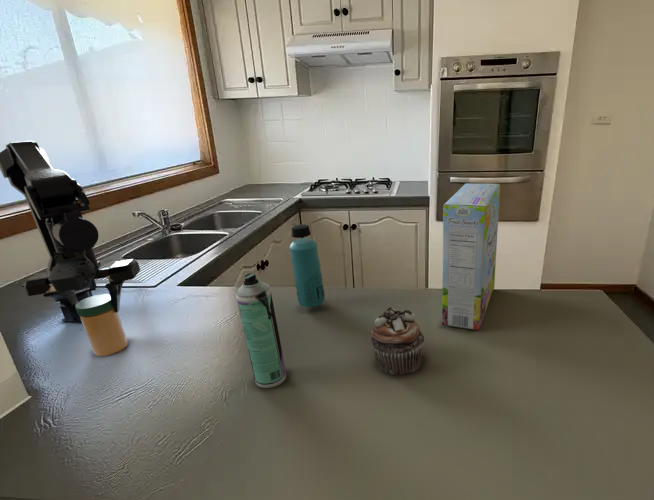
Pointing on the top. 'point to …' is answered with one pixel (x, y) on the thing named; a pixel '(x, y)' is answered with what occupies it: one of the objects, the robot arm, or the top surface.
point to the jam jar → (105, 332)
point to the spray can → (261, 332)
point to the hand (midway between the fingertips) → (98, 315)
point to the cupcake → (397, 342)
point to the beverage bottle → (306, 268)
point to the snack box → (469, 254)
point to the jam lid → (94, 305)
